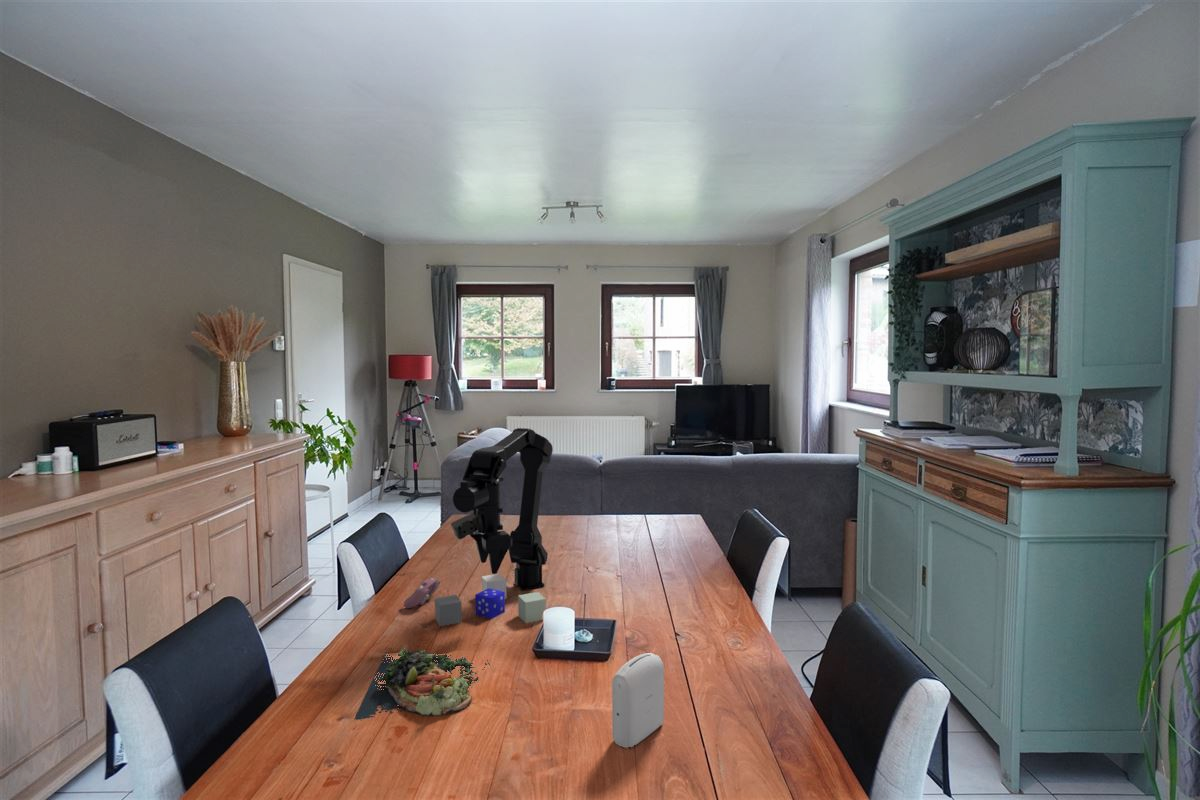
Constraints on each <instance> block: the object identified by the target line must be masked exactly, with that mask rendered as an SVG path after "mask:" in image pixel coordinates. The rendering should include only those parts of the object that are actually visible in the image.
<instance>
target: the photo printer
mask: <svg viewBox="0 0 1200 800" xmlns="http://www.w3.org/2000/svg"><path fill="white" fill-rule="evenodd" d="M664 669H665V667H664V663H663V660H662V659H661V657H660V656H659V655H658V654H654V653H652V652H648V653H647V652H646V653H641V654H638V655H637V656H635V657H633V658H631V659H630V660H628V661H627V662H626V663H624V664H623V665H622V666H621V667H620V668H619V669H618V670H617V671H616V672H615V674H614V676H613V678H612V682H611V688H612V689H611V691H612V692H611V694H612V696H611V698H612V701H611V703H612V705H611V706H612V707H611V708H612V711H611V713H612V716H611V719H612V720H611V721H612V722H611V723H612V724H611V725H612V726H611V727H612V728H611V729H612V734H611V735H612V739H613V741H614V742H615V745H617V744H618V745H619V746H618V745H617V746H618V747H620V746H622V747H631V748H634V747H635V746H637V744H639V743H641V742H642V741H643V740H645V739H646V738H647V737H649V736H650V735H651V734H652V733H654V732H655V731H656V730H657V729H659V728H660V726H662V724H663V723H664V720H665V719H664V718H665V712H664V711H665V703H664V702H665V697H664V696H665V687H664V686H665V672H664ZM634 745H635V746H634ZM622 747H621V748H622Z"/></svg>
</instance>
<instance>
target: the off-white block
mask: <svg viewBox="0 0 1200 800" xmlns="http://www.w3.org/2000/svg"><path fill="white" fill-rule="evenodd" d="M488 588H490V589H494V590H499V591H503V592H505V599H507V596H508V595H507V578H505V577H504V575H503V574H502V573H497V574H489V575H488V574H487V575H482V576H481V592H482V591H484V590H486V589H488Z"/></svg>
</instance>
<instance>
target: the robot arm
mask: <svg viewBox="0 0 1200 800" xmlns="http://www.w3.org/2000/svg"><path fill="white" fill-rule="evenodd" d="M553 448H554V447H553V444H552V443H551V442H550V441H549V439H548V438H547V437H544V436H542V435H541V434H539V433H536V431H535V430H534V429H532V428H526V427H525V428H524V427H523V428H522V427H518V428H514V429H513V430H512V432H511V433H509V434H508V435H507V436H506V437H504V438H503V439H501V440H500V441H498V442H497V443H496V444H494V445H491V446H486V447H481V448H479V449H476V450H473V452H472V454H471V456H470V458H469V461H468V463H467V466H466V469H465V472H464V475H463V478H462V481H460V485H459V487H458V488H457V489H456V490H455V492H454V493H453V496H452V502H453V506H454V507H455V509H456V510H457V511H459V512H460V513H463V514H464V513H469V512H471V513H469V514H467V515H464V516H463V517H461V518H458V519H456V520H454V521H452V522H451V523H450V526H451V528H452V531H453V535H454V536H455V537H456V539H458V540H463V539H465V538H466V537H467V536H470V537H471V538H472V539H473V540H475V545H476V548H477V552H478V556H479V559H480V562H481V563H482V564H483V563H484V564H485V563H487V560H489V565H490V571H491V575H494V574H498V572H499V569H500V567H501V565H502V563H503V561H504V558H505V556H506V555H507V552H508V553H509V559H510V563H511V564H515V568H514V581H513V582H514V584H515V585H516V586H517V587H518V588H519V589H520V590H522V591H524V590H525V591H526V590H529V589H530V590H531V589H536V588H542V587H545V583H544V582H543V566H544V565H546V564H547V562H548V556H549V555H548V552H547V550H546V549H545V548H544V547H545V546H544V545H543V541H542V540H543V537H542V534H541V532H540V530H539V527H538V520H539V512H540V503H541V502H540V500H541V492H542V483H543V474H544V471H545V470H546V469H547V468H548V466H549V465H550V463H551V458H552V455H553V452H554V451H553ZM518 453H519V454H520V455H519V460H520V463H521V465H522V467H523V470H524V474H523V485H522V492H521V493H522V494H521V502H520V509H519V510H520V511H519V520H518V525H517V527H516V528H515V529H514V530H511V531H510V534H509V533H508V532H506V530H504V525H503V524H502V523H501V514H502V513H504V511H503V510H504V508H503V507H502V506H501V483H502V482H504V480H505V479H504V478H503V476H502V473H503V471H505V469H506V468H507V462H508V460H510V459H511V458H512V457H513V456H515V455H516V454H518Z"/></svg>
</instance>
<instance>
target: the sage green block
mask: <svg viewBox="0 0 1200 800" xmlns="http://www.w3.org/2000/svg"><path fill="white" fill-rule="evenodd" d="M517 599H518V600H517V602H518V605H517V606H518V607H517V608H518V609H517V610H518V613H517V614H518V618H520V619H521V621H523V622H524V623H525V624H530V623H529V622H531V623H534V622H533V621H536V622H539V621H538V620H541V621H543V620H542V614H543V611H544V610H545V609H546V610H547V605H546V604H547V601H546V600H547V598H545V596H543V595H542V594H541V593H540V592H539V591H537V592H535V591H534V592H530V593H525V594H518V597H517Z"/></svg>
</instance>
